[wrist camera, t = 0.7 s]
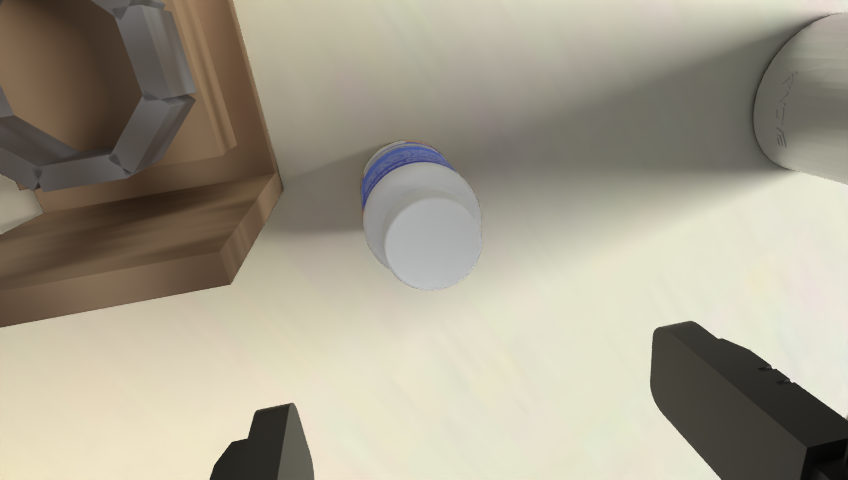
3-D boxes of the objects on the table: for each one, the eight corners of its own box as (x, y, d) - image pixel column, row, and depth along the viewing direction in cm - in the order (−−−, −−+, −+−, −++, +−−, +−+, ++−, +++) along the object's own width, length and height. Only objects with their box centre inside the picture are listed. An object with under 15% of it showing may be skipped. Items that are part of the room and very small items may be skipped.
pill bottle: (341, 183, 27) (332, 246, 18) (410, 117, 26) (437, 150, 17) (405, 245, 29) (426, 331, 20) (471, 186, 28) (524, 247, 19)
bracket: (218, -54, 22) (78, -164, 11) (283, 189, 27) (230, 284, 16) (-50, -17, 21) (-489, -95, 10) (65, 228, 26) (-154, 356, 15)
